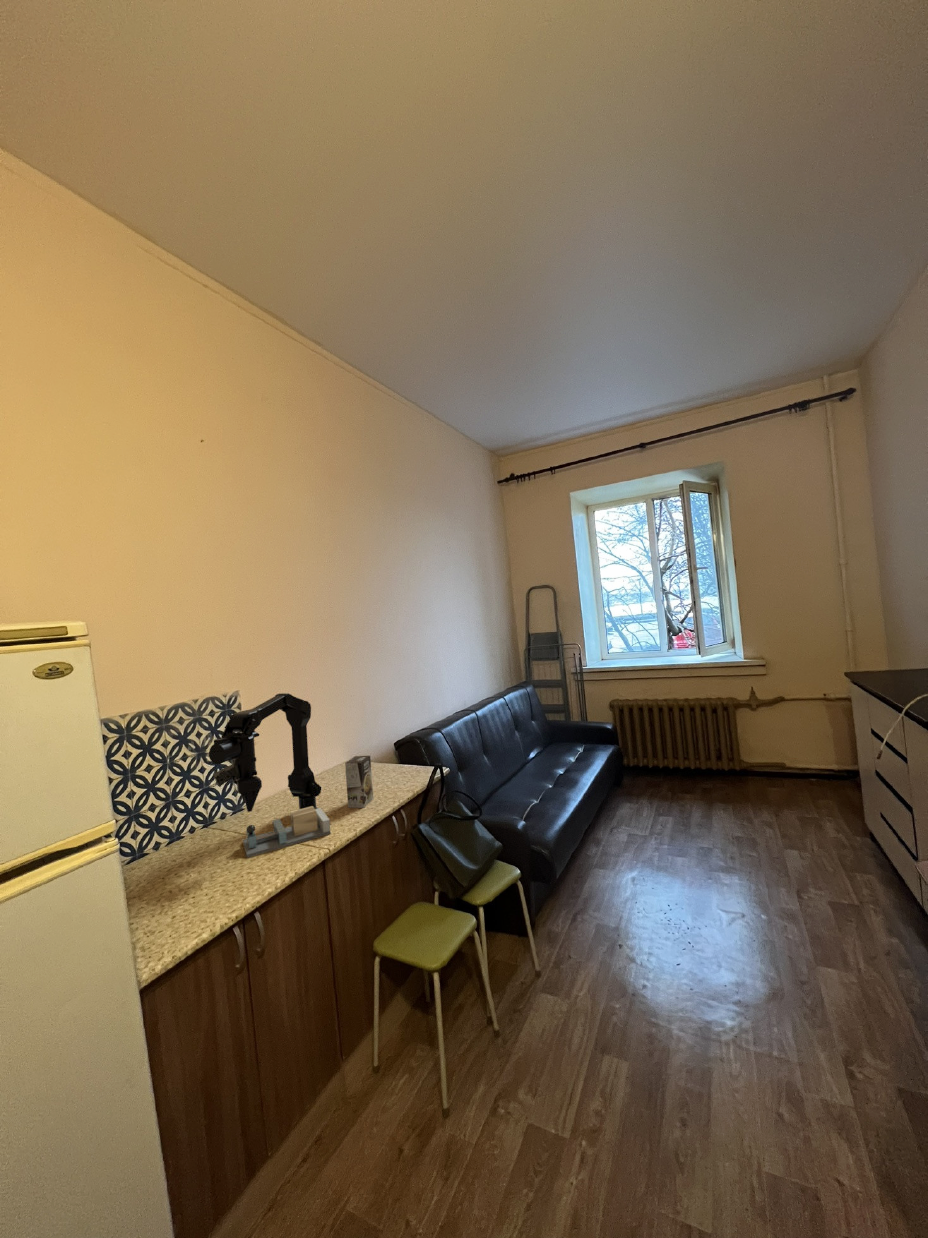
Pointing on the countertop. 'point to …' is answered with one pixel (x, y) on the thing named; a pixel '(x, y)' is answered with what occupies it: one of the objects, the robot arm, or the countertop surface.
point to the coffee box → (359, 781)
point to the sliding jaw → (278, 833)
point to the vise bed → (290, 837)
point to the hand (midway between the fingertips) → (247, 807)
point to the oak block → (303, 820)
